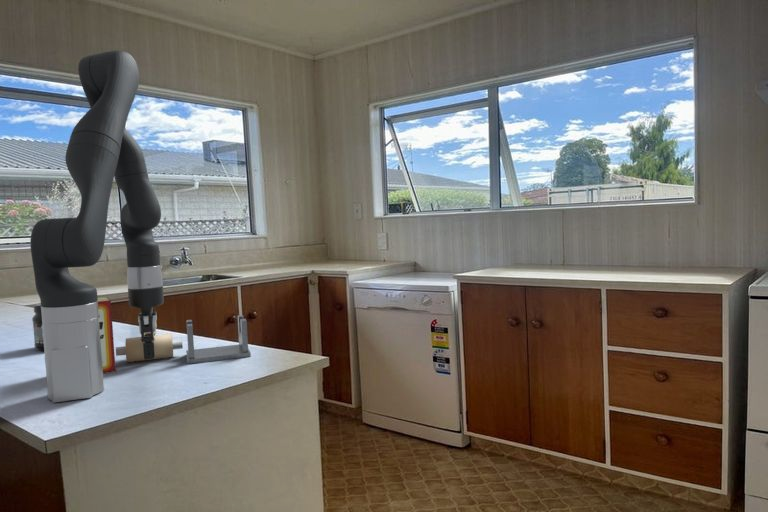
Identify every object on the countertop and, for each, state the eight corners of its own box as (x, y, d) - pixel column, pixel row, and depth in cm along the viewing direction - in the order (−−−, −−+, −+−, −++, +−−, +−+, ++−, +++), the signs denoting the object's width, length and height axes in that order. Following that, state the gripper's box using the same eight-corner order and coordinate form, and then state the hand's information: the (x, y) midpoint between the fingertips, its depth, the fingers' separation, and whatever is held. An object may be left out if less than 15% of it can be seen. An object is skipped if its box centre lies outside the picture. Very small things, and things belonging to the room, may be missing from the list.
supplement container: (73, 341, 151) (70, 299, 151) (85, 346, 144) (82, 302, 143) (30, 348, 144) (26, 304, 143) (40, 354, 137) (37, 307, 136)
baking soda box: (112, 365, 123) (107, 295, 122) (115, 371, 117) (110, 298, 116) (64, 372, 118) (59, 300, 117) (65, 379, 112) (59, 303, 111)
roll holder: (250, 356, 126) (248, 320, 125) (187, 364, 121) (185, 326, 120) (245, 347, 135) (243, 314, 135) (186, 354, 130) (184, 319, 130)
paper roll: (183, 356, 132) (181, 333, 133) (183, 355, 126) (181, 331, 128) (118, 364, 126) (117, 340, 127) (115, 362, 121) (114, 338, 122)
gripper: (162, 287, 120) (166, 360, 121) (163, 281, 133) (167, 347, 135) (125, 290, 117) (130, 364, 119) (130, 283, 131) (134, 350, 132)
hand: (150, 355), depth 127 cm, fingers open, 7 cm apart
